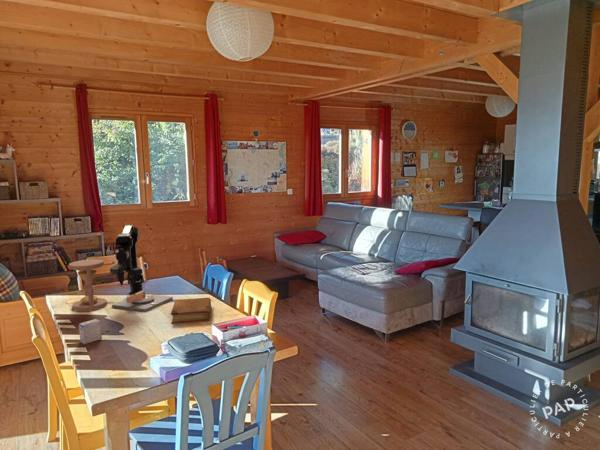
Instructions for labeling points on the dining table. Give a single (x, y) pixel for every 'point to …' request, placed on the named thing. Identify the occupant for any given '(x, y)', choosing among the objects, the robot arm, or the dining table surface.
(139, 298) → the dial
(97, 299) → the wooden pedestal stand
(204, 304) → the diary
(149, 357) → the dining table surface
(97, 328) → the medicine box
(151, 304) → the panel
